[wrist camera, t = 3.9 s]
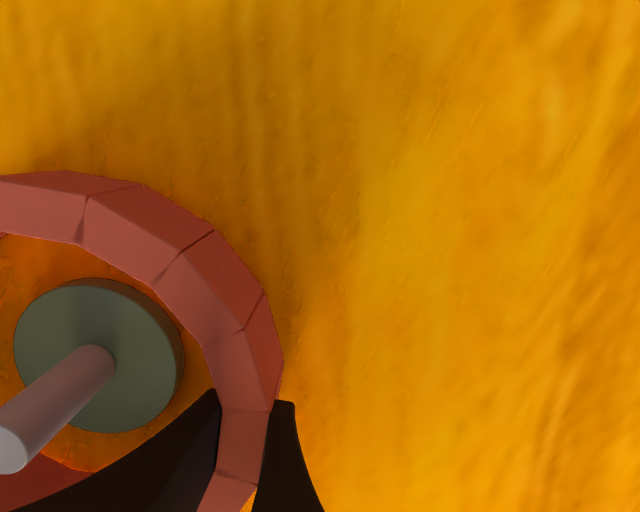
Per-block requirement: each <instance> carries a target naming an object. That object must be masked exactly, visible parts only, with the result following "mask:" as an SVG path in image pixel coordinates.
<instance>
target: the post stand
mask: <svg viewBox="0 0 640 512" xmlns="http://www.w3.org/2000/svg"><path fill="white" fill-rule="evenodd" d="M13 352H14V359H15V363H16V367H17V370H18V372H19V375H20V377H21V379H22V381H23V383H24V385H25V387H26V388H25V389H24V390H22V391H21V392H20V393H18V394H17V395H16V396H14V397H13V398H12V399H10V400H9V401H8V402H7V403H5V404H4V405H3V406H1V407H0V474H12V473H15V472H18V471H20V470H21V469H22V468H24V467H25V466H26V465H27V464H28V463H29V462H30V461H31V460H32V459H33V458H34V457H35V456H36V455H37V453H38V452H39V451H40V450H41V449H42V448H43V447H44V446H45V445H46V444H47V443H48V442H49V441H50V440H51V439H52V438H53V437H54V436H55V435H56V434H57V433H58V432H59V431H60V430H61V429H62V428H63V427H64V426H65V425H66V424H67V423H68V424H70V425H72V426H75V427H78V428H80V429H83V430H88V431H92V432H99V433H120V432H126V431H130V430H134V429H137V428H139V427H142V426H144V425H145V424H147V423H149V422H151V421H152V420H153V419H155V418H156V417H158V416H159V415H160V413H161V412H162V411H163V410H164V409H165V408H166V406H167V405H168V404H169V402H170V401H171V399H172V398H173V396H174V395H175V393H176V392H177V390H178V388H179V386H180V383H181V380H182V377H183V372H184V351H183V346H182V342H181V339H180V336H179V334H178V332H177V329H176V327H175V326H174V324H173V322H172V321H171V319H170V318H169V317H168V315H167V314H166V313H165V311H164V310H163V309H162V308H161V307H160V306H159V305H158V304H157V303H156V302H154V301H153V300H152V299H151V298H150V297H148V296H147V295H145V294H144V293H142V292H141V291H139V290H137V289H135V288H133V287H131V286H129V285H126V284H123V283H121V282H117V281H113V280H109V279H100V278H84V279H77V280H73V281H70V282H66V283H64V284H62V285H60V286H58V287H56V288H54V289H52V290H50V291H48V292H45V293H44V294H42V295H41V296H39V297H38V298H36V299H35V300H34V301H33V302H32V303H31V304H30V305H29V306H28V307H27V308H26V309H25V311H24V312H23V314H22V315H21V317H20V319H19V321H18V323H17V326H16V329H15V333H14V339H13Z"/></svg>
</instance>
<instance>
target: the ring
mask: <svg viewBox="0 0 640 512" xmlns="http://www.w3.org/2000/svg"><path fill="white" fill-rule="evenodd" d="M213 230H214V226H212V225H210V224H209V223H207V222H205V221H204V220H202V219H200V218H199V217H197V216H196V215H194V214H192V213H191V212H189V211H187V210H186V209H184V208H182V207H181V206H179V205H177V204H176V203H174V202H172V201H171V200H169V199H167V198H166V197H164V196H163V195H161V194H159V193H158V192H156V191H154V190H153V189H151V188H149V187H148V186H143V185H142V184H140V183H135V182H129V181H123V180H117V179H112V178H106V177H100V176H95V175H89V174H83V173H77V172H72V171H66V170H64V171H48V172H36V173H24V174H12V175H0V239H1V238H2V237H3V236H4V235H6V234H7V233H10V234H16V235H22V236H27V237H33V238H39V239H45V240H50V241H56V242H62V243H67V244H73V245H78V246H80V247H81V248H83V249H85V250H87V251H88V252H90V253H92V254H93V255H95V256H97V257H99V258H100V259H102V260H104V261H106V262H107V263H109V264H111V265H113V266H114V267H116V268H118V269H119V270H121V271H123V272H125V273H126V274H128V275H130V276H132V277H133V278H135V279H137V280H139V281H140V282H142V283H144V284H145V285H147V286H149V287H151V288H152V290H153V291H154V292H155V293H156V294H157V295H158V297H159V298H160V299H161V300H162V301H163V303H164V304H165V305H166V306H167V307H168V308H169V310H170V311H171V312H172V313H173V314H174V315H175V317H176V318H177V319H178V320H179V321H180V323H181V324H182V325H183V326H184V327H185V328H186V330H187V331H188V332H189V333H190V334H191V335H192V337H193V338H194V339H195V340H196V341H197V343H198V344H199V345H200V346H201V348H202V351H203V354H204V357H205V360H206V363H207V366H208V369H209V371H210V374H211V377H212V380H213V383H214V386H215V389H216V392H217V395H218V398H219V401H220V404H221V407H222V417H221V425H220V434H219V442H218V451H217V459H216V466H215V469H214V472H213V476H212V478H211V480H210V483H209V485H208V487H207V489H206V492H205V494H204V496H203V498H202V501H201V503H200V505H199V507H198V509H197V512H239V511H240V510H241V509H242V507H243V506H244V504H245V503H246V502H247V500H248V499H249V498H250V496H251V495H252V494H253V492H254V491H255V490H256V488H257V487H258V482H259V476H260V469H261V463H262V457H263V450H264V444H265V437H266V431H267V425H268V418H269V413H270V412H271V410H272V407H273V403H274V400H275V399H278V395H279V389H280V383H281V377H282V370H283V364H284V360H283V354H282V350H281V346H280V343H279V339H278V336H277V332H276V329H275V325H274V322H273V318H272V314H271V311H270V307H269V304H268V300H267V297H266V294H265V293H262V292H263V288H262V286H261V285H260V284H259V283H258V281H257V280H256V279H255V277H254V276H253V275H252V274H251V272H250V271H249V270H248V268H247V267H246V266H245V265H244V263H243V262H242V261H241V260H240V258H239V257H238V256H237V254H236V253H235V252H234V251H233V249H232V248H231V247H230V245H229V244H228V243H227V242H226V240H225V239H224V238H223V236H222V235H221V234H220V233H219V231H218V230H214V231H213ZM91 475H93V473H88V472H82V471H76V470H72V469H70V468H68V467H66V466H64V465H62V464H61V463H59V462H57V461H55V460H53V459H51V458H49V457H47V456H45V455H43V454H41V453H39V452H38V453H37V455H36V456H35V457H34V458H33V459H32V460H31V461H30V462H29V463H28V464H27V465H26V466H25V467H24V468H22V469H21V470H20V471H18V472H15V473H12V474H0V512H8V511H11V510H14V509H16V508H19V507H22V506H25V505H27V504H30V503H32V502H35V501H37V500H40V499H42V498H44V497H47V496H49V495H51V494H54V493H56V492H58V491H60V490H62V489H65V488H67V487H69V486H71V485H73V484H75V483H77V482H79V481H81V480H83V479H85V478H87V477H89V476H91Z"/></svg>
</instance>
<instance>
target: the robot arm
mask: <svg viewBox="0 0 640 512" xmlns="http://www.w3.org/2000/svg"><path fill="white" fill-rule="evenodd" d="M221 417H222V407H221V404H220V401H219V398H218V395H217V392H216V389H215V388H210V389H209V390H207V391H206V392H205V393H204V394H203V395H202V396H201V397H200V398H199V399H198V400H197V401H196V402H194V403H193V404H192V405H191V406H190V407H189V408H188V409H187V410H185V411H184V412H183V413H182V414H181V415H180V416H178V417H177V418H176V419H175V420H174V421H172V422H171V423H170V424H169V425H167V426H166V427H165V428H164V429H162V430H161V431H160V432H158V433H157V434H156V435H154V436H153V437H152V438H150V439H149V440H148V441H146V442H145V443H143V444H142V445H141V446H139V447H138V448H136V449H135V450H133V451H132V452H130V453H129V454H127V455H126V456H124V457H122V458H121V459H119V460H118V461H116V462H114V463H113V464H111V465H109V466H107V467H106V468H104V469H102V470H100V471H98V472H96V473H94V474H93V475H91V476H89V477H87V478H85V479H83V480H81V481H79V482H77V483H75V484H73V485H71V486H69V487H67V488H65V489H62V490H60V491H58V492H56V493H54V494H51V495H49V496H47V497H44V498H42V499H40V500H37V501H35V502H32V503H30V504H27V505H25V506H22V507H19V508H16V509H14V510H11V511H8V512H197V509H198V507H199V505H200V503H201V501H202V498H203V496H204V494H205V492H206V489H207V487H208V485H209V483H210V480H211V478H212V476H213V472H214V469H215V466H216V459H217V451H218V442H219V434H220V425H221ZM251 512H325V511H324V509H323V507H322V505H321V503H320V501H319V498H318V496H317V494H316V491H315V489H314V487H313V484H312V482H311V479H310V476H309V473H308V470H307V467H306V464H305V461H304V458H303V454H302V450H301V447H300V443H299V439H298V434H297V428H296V422H295V405H294V404H293V402H289V401H284V400H278V399H275V400H274V403H273V407H272V410H271V412H270V413H269V418H268V425H267V431H266V437H265V444H264V450H263V457H262V463H261V469H260V476H259V482H258V488H257V491H256V495H255V499H254V503H253V506H252V510H251Z"/></svg>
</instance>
